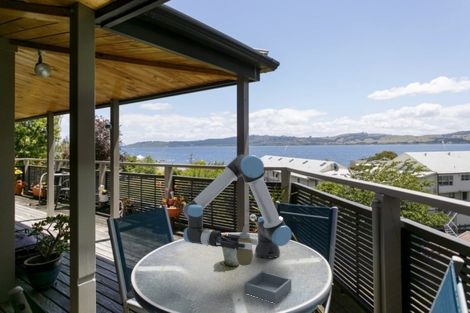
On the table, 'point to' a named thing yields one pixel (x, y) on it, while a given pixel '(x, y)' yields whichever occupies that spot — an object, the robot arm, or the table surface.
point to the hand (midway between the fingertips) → (254, 244)
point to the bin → (268, 286)
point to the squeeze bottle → (244, 254)
